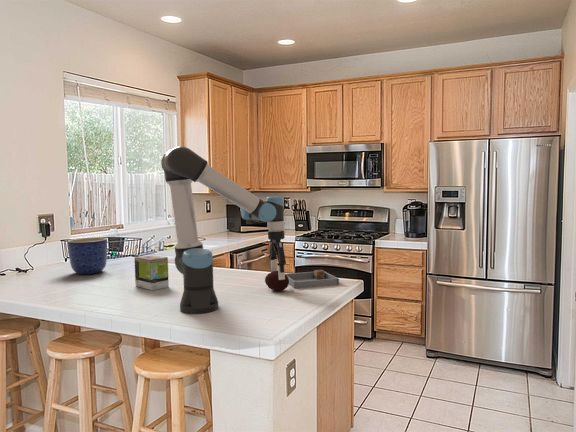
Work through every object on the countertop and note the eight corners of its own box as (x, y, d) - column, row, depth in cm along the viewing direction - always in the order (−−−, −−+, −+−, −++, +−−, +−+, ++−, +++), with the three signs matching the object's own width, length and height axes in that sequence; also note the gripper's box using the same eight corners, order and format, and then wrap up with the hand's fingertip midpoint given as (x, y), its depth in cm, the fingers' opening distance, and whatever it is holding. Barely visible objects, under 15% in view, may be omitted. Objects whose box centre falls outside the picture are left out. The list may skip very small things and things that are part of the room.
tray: (294, 289, 216) (294, 282, 216) (282, 280, 235) (282, 274, 235) (338, 285, 222) (338, 278, 222) (323, 277, 241) (323, 270, 241)
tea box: (169, 287, 227) (168, 256, 225) (151, 290, 219) (149, 259, 218) (153, 282, 237) (151, 253, 236) (134, 286, 230) (133, 256, 228)
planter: (95, 268, 280) (94, 236, 278) (116, 271, 268) (114, 238, 266) (61, 274, 263) (60, 240, 262) (82, 278, 251) (80, 243, 250)
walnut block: (316, 279, 234) (316, 271, 233) (314, 278, 238) (314, 270, 237) (324, 279, 235) (324, 271, 235) (321, 277, 239) (321, 269, 238)
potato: (283, 294, 208) (283, 273, 207) (261, 291, 214) (260, 271, 213) (293, 290, 216) (292, 270, 215) (271, 287, 221) (270, 268, 221)
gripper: (291, 232, 202) (293, 281, 203) (276, 227, 225) (278, 270, 227) (275, 233, 200) (276, 282, 201) (261, 228, 223) (263, 272, 225)
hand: (277, 276), depth 214 cm, fingers open, 13 cm apart
